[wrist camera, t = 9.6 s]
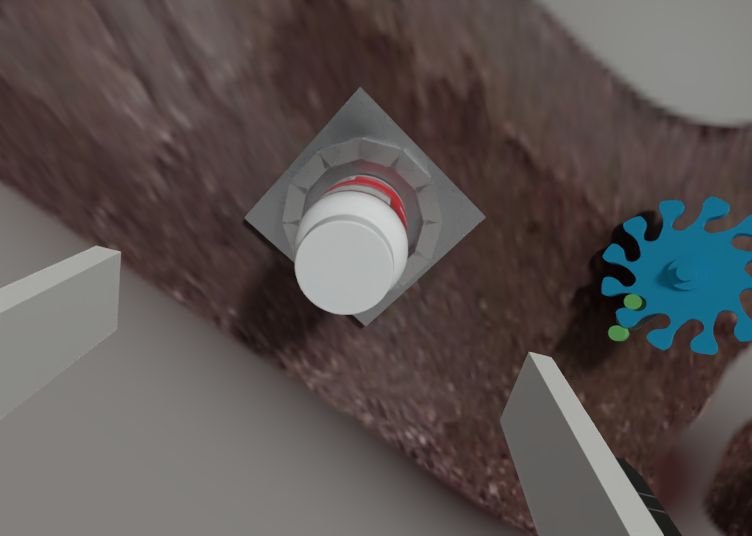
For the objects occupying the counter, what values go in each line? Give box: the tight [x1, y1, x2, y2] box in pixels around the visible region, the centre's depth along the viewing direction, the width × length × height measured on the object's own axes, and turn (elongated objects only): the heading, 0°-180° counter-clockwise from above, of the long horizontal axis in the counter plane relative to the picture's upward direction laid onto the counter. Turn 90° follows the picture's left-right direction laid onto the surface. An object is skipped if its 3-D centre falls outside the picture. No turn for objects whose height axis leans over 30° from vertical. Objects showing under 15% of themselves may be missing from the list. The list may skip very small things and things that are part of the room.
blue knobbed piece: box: [602, 197, 752, 354], centre depth 30 cm, size 11×6×10 cm
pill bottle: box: [294, 175, 408, 315], centre depth 26 cm, size 6×6×11 cm
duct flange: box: [244, 87, 485, 326], centre depth 31 cm, size 12×12×2 cm
